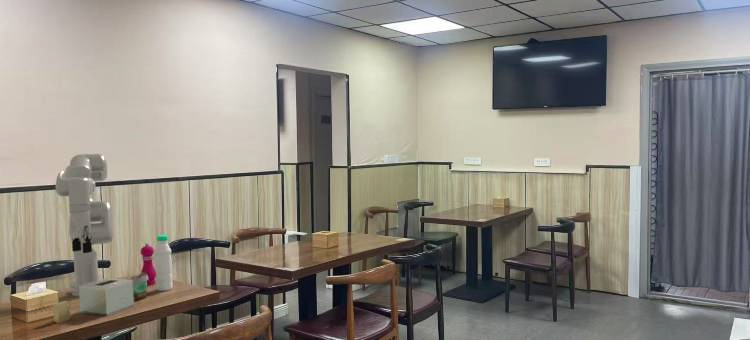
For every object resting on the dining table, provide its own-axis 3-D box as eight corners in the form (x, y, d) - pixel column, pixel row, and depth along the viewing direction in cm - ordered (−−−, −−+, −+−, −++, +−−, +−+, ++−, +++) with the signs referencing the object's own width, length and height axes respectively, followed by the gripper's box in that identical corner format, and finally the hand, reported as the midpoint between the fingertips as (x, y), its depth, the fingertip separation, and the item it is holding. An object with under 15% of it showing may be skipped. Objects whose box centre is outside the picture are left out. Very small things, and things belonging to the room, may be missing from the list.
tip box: (80, 312, 230) (79, 285, 229) (108, 303, 243) (107, 277, 242) (106, 315, 225) (105, 288, 224) (133, 306, 238) (132, 279, 237)
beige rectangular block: (54, 322, 218) (53, 304, 218) (65, 318, 223) (64, 300, 222) (58, 323, 217) (57, 304, 217) (70, 319, 222) (69, 301, 222)
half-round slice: (138, 302, 243) (137, 279, 242) (125, 302, 244) (124, 279, 243) (155, 295, 255) (154, 272, 254) (142, 294, 256) (141, 272, 256)
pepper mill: (151, 281, 281) (150, 241, 280) (159, 283, 276) (157, 242, 275) (137, 284, 275) (135, 243, 274) (145, 286, 271) (143, 244, 270)
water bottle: (174, 287, 268) (172, 234, 267) (170, 291, 261) (167, 236, 260) (159, 287, 268) (157, 234, 267) (154, 291, 261) (151, 237, 260)
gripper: (61, 209, 231) (63, 251, 231) (79, 210, 219) (81, 254, 220) (80, 207, 236) (82, 249, 237) (99, 208, 225) (101, 251, 225)
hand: (82, 251), depth 228 cm, fingers open, 9 cm apart
